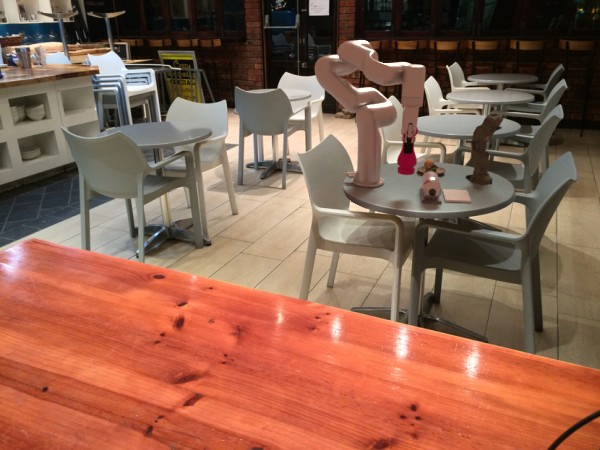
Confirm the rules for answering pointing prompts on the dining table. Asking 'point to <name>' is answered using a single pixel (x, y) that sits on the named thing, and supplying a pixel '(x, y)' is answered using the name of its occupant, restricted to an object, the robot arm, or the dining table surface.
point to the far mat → (456, 196)
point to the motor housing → (430, 188)
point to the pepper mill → (407, 158)
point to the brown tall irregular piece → (483, 148)
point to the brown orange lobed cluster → (430, 168)
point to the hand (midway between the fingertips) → (407, 150)
